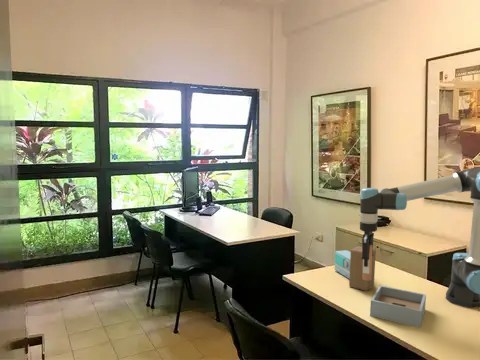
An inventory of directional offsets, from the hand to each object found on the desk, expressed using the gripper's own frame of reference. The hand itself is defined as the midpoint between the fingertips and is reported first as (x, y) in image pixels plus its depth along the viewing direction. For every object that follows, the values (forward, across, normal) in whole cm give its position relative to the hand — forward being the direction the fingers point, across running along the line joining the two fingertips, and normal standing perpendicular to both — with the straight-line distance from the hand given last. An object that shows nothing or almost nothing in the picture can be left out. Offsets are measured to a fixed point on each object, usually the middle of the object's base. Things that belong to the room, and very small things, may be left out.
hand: (367, 271), depth 179 cm
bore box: (+16, +2, +14) cm, 21 cm away
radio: (+16, -33, -18) cm, 40 cm away
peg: (+4, 0, 0) cm, 4 cm away
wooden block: (+16, -20, -7) cm, 26 cm away
